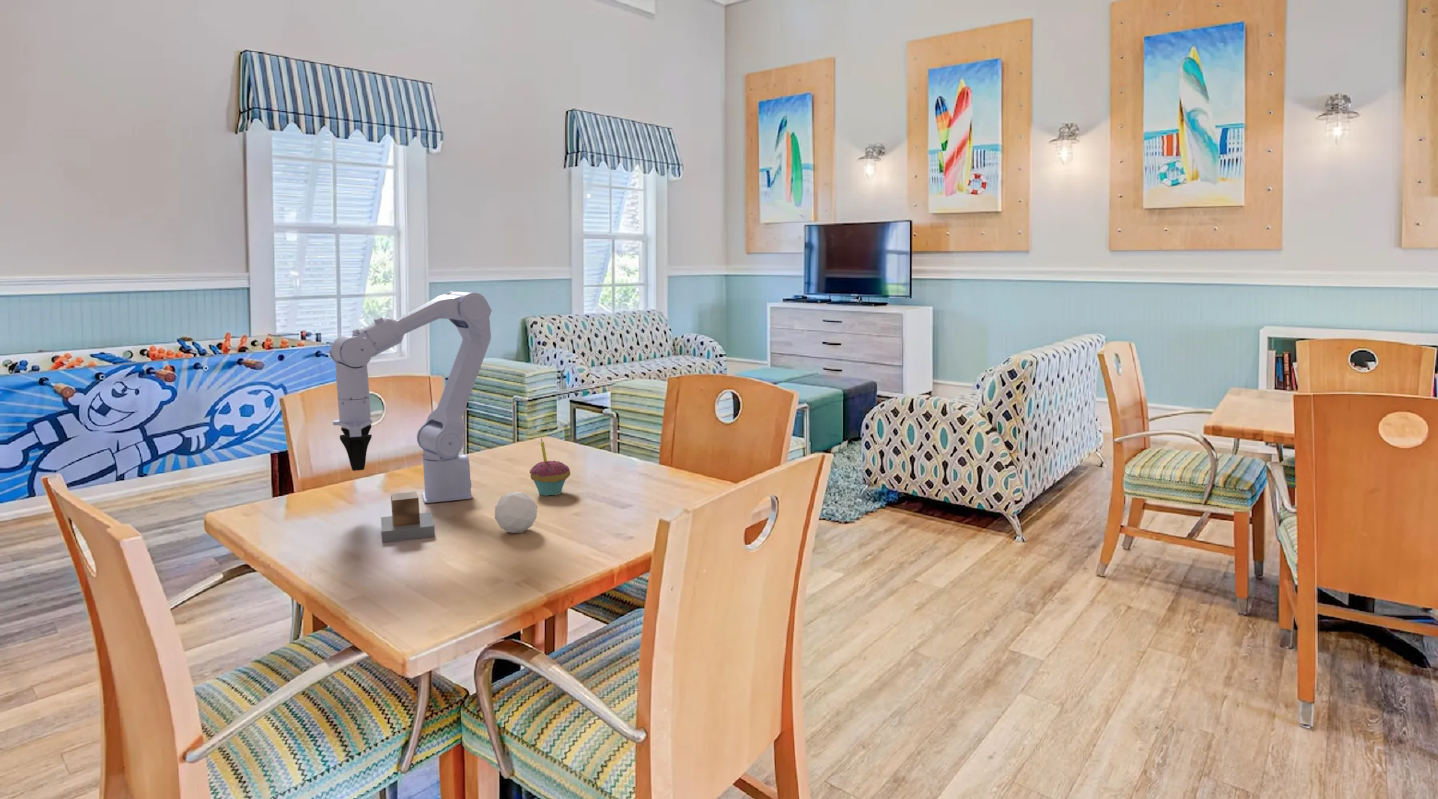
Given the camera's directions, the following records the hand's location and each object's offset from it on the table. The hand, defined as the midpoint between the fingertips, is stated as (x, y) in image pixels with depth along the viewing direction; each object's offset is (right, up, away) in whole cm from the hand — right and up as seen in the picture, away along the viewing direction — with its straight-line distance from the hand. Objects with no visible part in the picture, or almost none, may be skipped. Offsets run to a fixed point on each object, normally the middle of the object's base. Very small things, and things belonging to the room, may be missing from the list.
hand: (358, 465), depth 170 cm
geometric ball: (+33, -12, -8) cm, 36 cm away
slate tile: (+13, -12, -9) cm, 20 cm away
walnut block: (+13, -10, -9) cm, 19 cm away
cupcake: (+35, -8, +17) cm, 39 cm away
